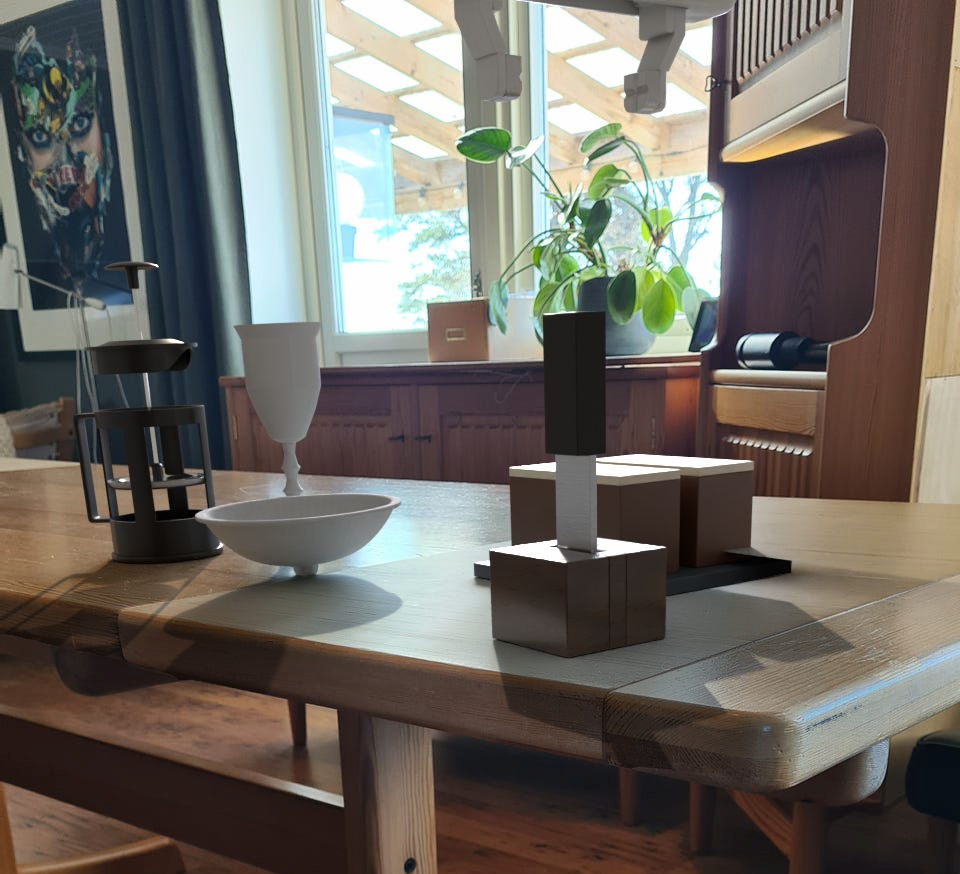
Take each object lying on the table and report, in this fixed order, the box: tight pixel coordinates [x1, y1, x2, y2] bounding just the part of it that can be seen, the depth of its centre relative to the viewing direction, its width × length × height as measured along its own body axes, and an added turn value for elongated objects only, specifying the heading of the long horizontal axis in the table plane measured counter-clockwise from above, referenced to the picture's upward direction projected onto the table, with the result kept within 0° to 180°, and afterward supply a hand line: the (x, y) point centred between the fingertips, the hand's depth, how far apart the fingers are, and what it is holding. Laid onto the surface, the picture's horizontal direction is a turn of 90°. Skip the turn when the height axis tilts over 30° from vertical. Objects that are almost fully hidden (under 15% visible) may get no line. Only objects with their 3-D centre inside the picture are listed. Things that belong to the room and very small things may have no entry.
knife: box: [542, 310, 607, 554], centre depth 69 cm, size 2×3×17 cm, turn 35°
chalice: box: [233, 321, 323, 497], centre depth 108 cm, size 7×7×18 cm
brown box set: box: [473, 454, 793, 596], centre depth 90 cm, size 16×16×8 cm
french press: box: [72, 261, 224, 564], centre depth 106 cm, size 12×9×23 cm
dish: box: [195, 492, 402, 576], centre depth 97 cm, size 18×14×5 cm
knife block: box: [488, 538, 667, 658], centre depth 72 cm, size 7×7×5 cm
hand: (575, 106), depth 65 cm, fingers open, 8 cm apart
